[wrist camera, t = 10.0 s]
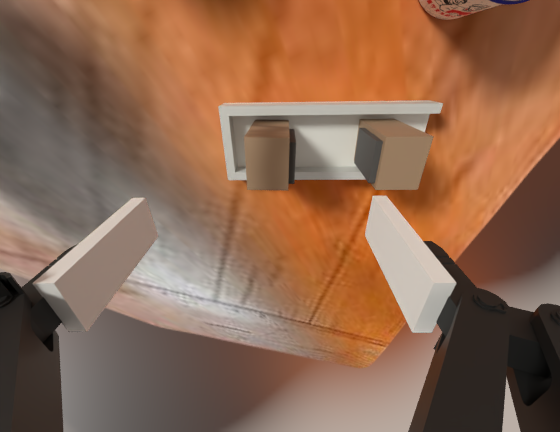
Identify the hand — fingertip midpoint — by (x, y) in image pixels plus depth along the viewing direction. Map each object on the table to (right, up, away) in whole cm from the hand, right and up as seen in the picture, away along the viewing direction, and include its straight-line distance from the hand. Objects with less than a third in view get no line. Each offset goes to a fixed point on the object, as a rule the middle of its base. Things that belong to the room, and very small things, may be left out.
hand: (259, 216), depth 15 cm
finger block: (0, +9, +16) cm, 18 cm away
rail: (+7, +10, +17) cm, 20 cm away
